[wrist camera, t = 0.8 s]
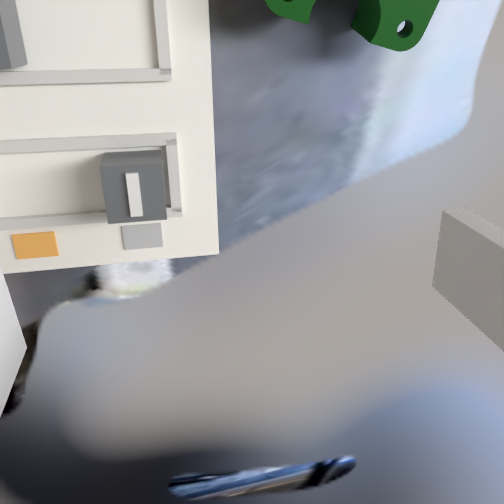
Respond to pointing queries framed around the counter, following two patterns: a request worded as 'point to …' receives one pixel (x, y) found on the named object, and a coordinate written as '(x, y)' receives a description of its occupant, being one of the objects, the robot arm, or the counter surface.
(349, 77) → the counter surface
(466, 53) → the counter surface
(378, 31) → the green notched bracket
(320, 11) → the counter surface
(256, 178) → the counter surface
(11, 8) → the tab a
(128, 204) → the grey cube
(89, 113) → the switch board
